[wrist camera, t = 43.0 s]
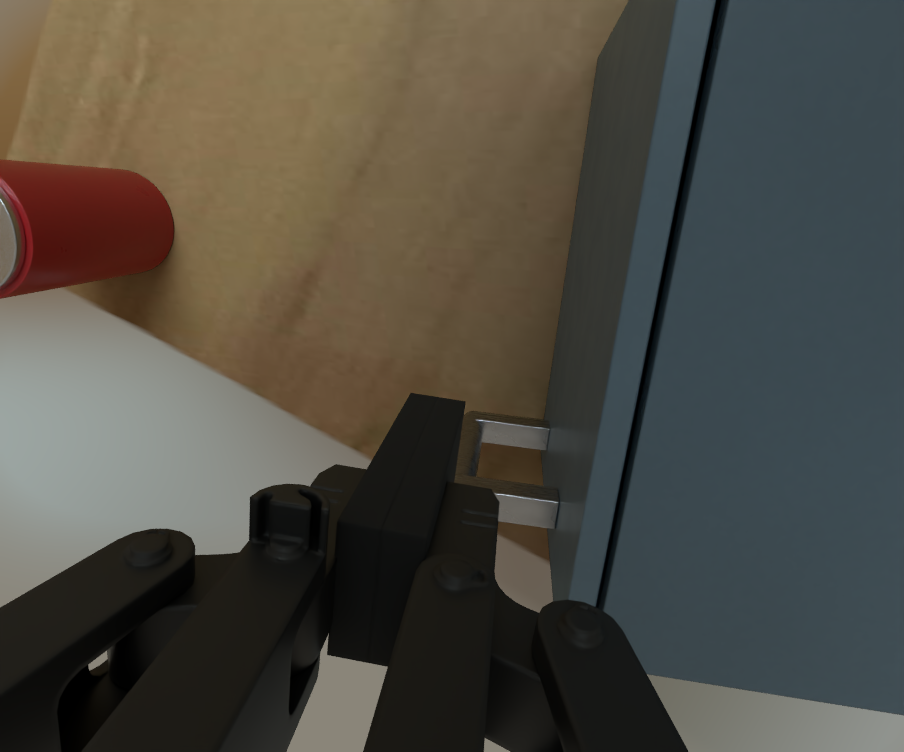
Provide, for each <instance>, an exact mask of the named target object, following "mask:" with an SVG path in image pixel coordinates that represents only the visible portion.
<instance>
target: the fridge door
mask: <svg viewBox="0 0 904 752" xmlns="http://www.w3.org/2000/svg"><path fill="white" fill-rule="evenodd" d="M715 3H716V0H629V1H628V3H627V5H626V7H625V9H624V11H623V12H622V14H621V16H620V18H619V20H618V22H617V24H616V25H615V27H614V29H613V31H612V33H611V35H610V36H609V38H608V40H607V42H606V44H605V46H604V48H603V49H602V51H601V53H600V55H599V57H598V61H597V68H596V74H595V81H594V88H593V94H592V101H591V108H590V114H589V121H588V128H587V134H586V141H585V148H584V154H583V161H582V168H581V174H580V181H579V188H578V195H577V201H576V208H575V215H574V221H573V228H572V235H571V241H570V248H569V255H568V261H567V268H566V275H565V281H564V288H563V295H562V301H561V308H560V315H559V321H558V328H557V335H556V341H555V348H554V355H553V361H552V368H551V375H550V382H549V388H548V395H547V402H546V408H545V415H544V420H541V419H533V418H525V417H517V416H509V415H502V414H494V413H486V412H478V411H470V412H467V413H466V414H465V415H464V416H463V423H462V430H461V438H460V445H459V452H458V459H457V466H456V473H455V480H454V483H459V484H465V485H471V486H477V487H483V488H489V489H492V491H493V493H494V494H495V496H496V497H497V499H498V500H499V502H500V504H499V516H498V521H500V522H507V523H514V524H521V525H529V526H536V527H543V528H547V532H548V544H549V556H550V567H551V579H552V591H553V601H560V600H574V601H580V602H585V603H587V604H590V605H592V606H595V607H596V603H597V598H598V593H599V588H600V583H601V578H602V572H603V567H604V562H605V557H606V552H607V547H608V542H609V537H610V532H611V527H612V522H613V517H614V512H615V507H616V502H617V497H618V492H619V487H620V482H621V477H622V472H623V467H624V462H625V457H626V452H627V447H628V442H629V436H630V431H631V426H632V421H633V416H634V411H635V406H636V401H637V396H638V391H639V386H640V381H641V376H642V371H643V366H644V361H645V356H646V351H647V346H648V341H649V336H650V331H651V326H652V321H653V316H654V311H655V306H656V300H657V295H658V290H659V285H660V280H661V275H662V270H663V265H664V260H665V255H666V250H667V245H668V240H669V235H670V230H671V225H672V220H673V215H674V210H675V205H676V200H677V195H678V190H679V185H680V180H681V175H682V170H683V164H684V159H685V154H686V149H687V144H688V139H689V134H690V129H691V124H692V119H693V114H694V109H695V104H696V99H697V94H698V89H699V84H700V79H701V74H702V69H703V64H704V59H705V54H706V49H707V44H708V39H709V34H710V28H711V23H712V18H713V13H714V8H715ZM482 442H485V443H493V444H501V445H508V446H516V447H524V448H531V449H539V450H541V460H542V472H543V484H544V486H541V485H533V484H526V483H519V482H511V481H504V480H496V479H489V478H482V477H477V470H478V464H479V458H480V451H481V445H482Z"/></svg>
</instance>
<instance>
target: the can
mask: <svg viewBox="0 0 904 752" xmlns="http://www.w3.org/2000/svg"><path fill="white" fill-rule="evenodd" d="M173 235H174V226H173V219H172V214H171V211H170V208H169V206H168V204H167V202H166V200H165V198H164V197H163V195H162V194H161V193H160V191H159V190H158V189H157V188H156V187H155V186H154V185H153V184H152V183H151V182H150V181H149V180H147V179H146V178H144V177H143V176H141V175H139V174H137V173H134V172H131V171H128V170H121V169H109V168H97V167H85V166H73V165H61V164H49V163H36V162H24V161H12V160H0V299H1V298H6V297H12V296H17V295H22V294H28V293H34V292H39V291H44V290H49V289H55V288H61V287H66V286H71V285H77V284H82V283H88V282H93V281H98V280H104V279H109V278H115V277H120V276H125V275H131V274H136V273H141V272H145V271H148V270H151V269H153V268H154V267H156V266H158V265H159V264H160V263H161V262H162V261H163V260H164V259H165V257H166V256H167V254H168V252H169V250H170V248H171V245H172V241H173Z"/></svg>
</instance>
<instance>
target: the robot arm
mask: <svg viewBox="0 0 904 752" xmlns="http://www.w3.org/2000/svg"><path fill="white" fill-rule="evenodd" d="M464 409H465V401H459V400H453V399H446V398H440V397H434V396H427V395H421V394H415V393H411V394H410V395H409V397H408V399H407V401H406V402H405V404H404V406H403V407H402V409H401V411H400V413H399V414H398V416H397V418H396V420H395V421H394V423H393V425H392V427H391V428H390V430H389V432H388V434H387V435H386V437H385V439H384V440H383V442H382V444H381V446H380V447H379V449H378V451H377V453H376V454H375V456H374V458H373V460H372V461H371V463H370V465H369V467H368V469H367V470H366V469H360V468H354V467H348V466H342V465H337V464H336V465H334V466H332V467H330V468H328V469H326V470H325V471H323V472H321V473H319V475H318V476H317V477H316V479H315V480H314V481H313V483H312V484H311V486H310V487H309V486H306V485H299V484H282V485H275V486H271V487H268V488H265V489H262V490H259V491H258V492H257V493H255V494H254V495H252V496H251V497H250V527H249V528H250V529H249V541H248V543H247V544H246V545H245V546H244V548H243V549H242V550H241V551H240V552H239V553H232V554H219V555H195V545H194V543H193V541H192V539H191V537H189V536H187V535H186V534H184V533H182V532H180V531H175V530H170V529H149V530H144V531H140V532H135V533H132V534H130V535H127V536H125V537H123V538H121V539H118V540H116V541H115V542H113V543H111V544H109V545H108V546H106V547H104V548H102V549H101V550H99V551H97V552H95V553H94V554H92V555H90V556H89V557H87V558H85V559H83V560H82V561H80V562H78V563H76V564H75V565H73V566H71V567H70V568H68V569H66V570H65V571H63V572H61V573H59V574H58V575H56V576H54V577H52V578H51V579H49V580H47V581H45V582H44V583H42V584H40V585H39V586H37V587H35V588H33V589H32V590H30V591H28V592H27V593H25V594H23V595H21V596H20V597H18V598H16V599H15V600H13V601H11V602H9V603H7V604H6V605H4V606H2V607H1V608H0V752H286V751H287V749H288V746H289V744H290V741H291V739H292V737H293V735H294V732H295V730H296V728H297V725H298V723H299V720H300V718H301V716H302V713H303V711H304V709H305V706H306V704H307V702H308V699H309V697H310V694H311V692H312V690H313V687H314V685H315V683H316V680H317V677H318V671H319V661H320V651H321V649H322V647H323V645H324V642H325V640H326V638H327V636H328V633H329V637H328V651H327V655H331V656H336V657H341V658H347V659H352V660H356V661H362V662H367V663H372V664H377V665H382V666H388V669H387V672H386V675H385V679H384V683H383V686H382V689H381V693H380V696H379V700H378V703H377V707H376V710H375V713H374V717H373V720H372V723H371V727H370V731H369V734H368V738H367V741H366V744H365V747H364V751H363V752H484V738H486V739H488V740H490V741H492V742H494V743H496V744H498V745H500V746H501V747H503V748H505V749H507V750H509V751H511V752H688V750H687V748H686V746H685V744H684V742H683V741H682V739H681V737H680V735H679V733H678V731H677V730H676V728H675V726H674V724H673V722H672V720H671V718H670V717H669V715H668V713H667V711H666V709H665V708H664V706H663V704H662V702H661V700H660V698H659V696H658V695H657V693H656V691H655V689H654V687H653V686H652V683H651V681H650V680H649V678H648V676H647V674H646V672H645V670H644V669H643V667H642V665H641V663H640V661H639V659H638V657H637V656H636V654H635V652H634V650H633V648H632V646H631V645H630V643H629V641H628V639H627V637H626V635H625V633H624V632H623V630H622V629H621V627H620V626H619V625H618V624H617V622H616V621H615V620H614V619H613V618H612V617H611V616H609V615H608V614H607V613H605V612H604V611H602V610H601V609H600V608H597V607H595V606H592V605H590V604H587V603H585V602H580V601H574V600H560V601H553V602H551V603H549V604H548V605H546V606H544V607H543V608H542V609H541V611H540V613H537V612H535V611H533V610H530V609H528V608H526V607H524V606H522V605H520V604H518V603H516V602H515V601H513V600H512V599H511V598H509V597H508V596H507V595H505V593H504V592H503V591H502V590H501V589H500V588H499V586H498V584H497V582H496V580H495V573H494V569H495V555H496V542H497V528H498V516H499V504H500V502H499V500H498V499H497V497H496V496H495V494H494V493H493V491H492V489H489V488H483V487H477V486H471V485H465V484H459V483H454V480H455V473H456V466H457V459H458V452H459V445H460V438H461V430H462V423H463V416H464ZM106 650H107V655H108V659H107V660H106V661H105V662H104V663H102V664H101V665H100V666H98V667H96V668H94V669H93V670H90V671H89V669H88V664H89V663H91V662H92V661H93V660H95V659H96V658H97V657H99V656H100V655H101V654H103V653H104V652H105V651H106Z"/></svg>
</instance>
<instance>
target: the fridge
mask: <svg viewBox="0 0 904 752" xmlns="http://www.w3.org/2000/svg"><path fill="white" fill-rule="evenodd" d="M596 607H597V608H600V609H601V610H602V611H604V612H605V613H607V614H608V615H609V616H611V617H612V618H613V619H614V620H615V621H616V622H617V624H618V625H619V626H620V627H621V629H622V630H623V632H624V633H625V635H626V637H627V639H628V641H629V643H630V645H631V646H632V648H633V650H634V652H635V654H636V656H637V657H638V659H639V661H640V663H641V665H642V667H643V669H644V670H645V672H646V674H649V675H655V676H662V677H668V678H674V679H680V680H687V681H693V682H699V683H705V684H712V685H718V686H724V687H730V688H736V689H743V690H749V691H755V692H761V693H768V694H774V695H780V696H786V697H793V698H799V699H805V700H812V701H818V702H824V703H830V704H836V705H842V706H849V707H855V708H861V709H868V710H874V711H880V712H887V713H892V714H899V715H904V0H716V3H715V8H714V13H713V18H712V23H711V28H710V34H709V39H708V44H707V49H706V54H705V59H704V64H703V69H702V74H701V79H700V84H699V89H698V94H697V99H696V104H695V109H694V114H693V119H692V124H691V129H690V134H689V139H688V144H687V149H686V154H685V159H684V164H683V170H682V175H681V180H680V185H679V190H678V195H677V200H676V205H675V210H674V215H673V220H672V225H671V230H670V235H669V240H668V245H667V250H666V255H665V260H664V265H663V270H662V275H661V280H660V285H659V290H658V295H657V300H656V306H655V311H654V316H653V321H652V326H651V331H650V336H649V341H648V346H647V351H646V356H645V361H644V366H643V371H642V376H641V381H640V386H639V391H638V396H637V401H636V406H635V411H634V416H633V421H632V426H631V431H630V436H629V442H628V447H627V452H626V457H625V462H624V467H623V472H622V477H621V482H620V487H619V492H618V497H617V502H616V507H615V512H614V517H613V522H612V527H611V532H610V537H609V542H608V547H607V552H606V557H605V562H604V567H603V572H602V578H601V583H600V588H599V593H598V598H597V603H596Z"/></svg>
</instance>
